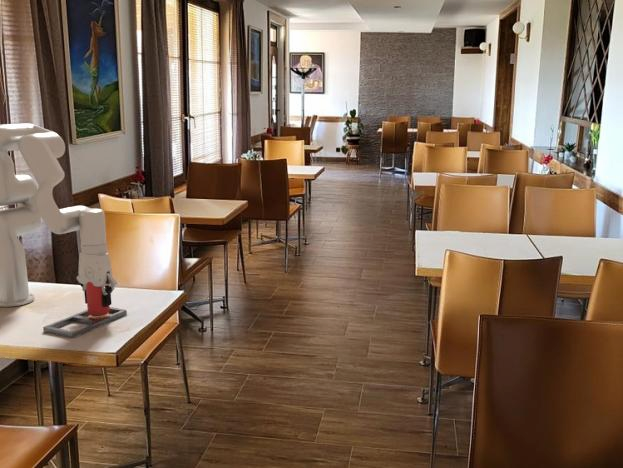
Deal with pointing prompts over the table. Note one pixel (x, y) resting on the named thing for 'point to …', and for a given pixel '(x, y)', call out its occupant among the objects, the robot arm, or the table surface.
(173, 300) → the table surface
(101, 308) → the beer can
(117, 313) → the gray rectangular frame
